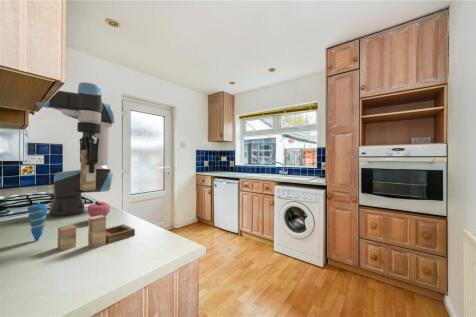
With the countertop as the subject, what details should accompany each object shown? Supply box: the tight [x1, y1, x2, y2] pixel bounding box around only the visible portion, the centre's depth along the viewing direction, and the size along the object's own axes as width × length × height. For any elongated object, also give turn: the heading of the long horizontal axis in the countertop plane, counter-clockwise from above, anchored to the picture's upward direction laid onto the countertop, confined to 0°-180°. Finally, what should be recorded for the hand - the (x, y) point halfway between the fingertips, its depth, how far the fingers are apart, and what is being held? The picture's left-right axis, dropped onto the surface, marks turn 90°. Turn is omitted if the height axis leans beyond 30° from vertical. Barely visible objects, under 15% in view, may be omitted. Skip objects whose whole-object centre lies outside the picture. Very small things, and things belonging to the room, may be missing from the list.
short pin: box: [57, 224, 77, 252], centre depth 69 cm, size 4×4×7 cm
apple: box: [87, 201, 110, 218], centre depth 98 cm, size 10×9×10 cm
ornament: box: [27, 200, 48, 242], centre depth 74 cm, size 5×5×15 cm
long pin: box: [79, 150, 96, 191], centre depth 80 cm, size 4×4×16 cm
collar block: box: [105, 223, 136, 244], centre depth 80 cm, size 10×10×2 cm
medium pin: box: [87, 215, 107, 250], centre depth 72 cm, size 4×4×10 cm
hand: (88, 180), depth 80 cm, fingers closed on long pin, 4 cm apart
